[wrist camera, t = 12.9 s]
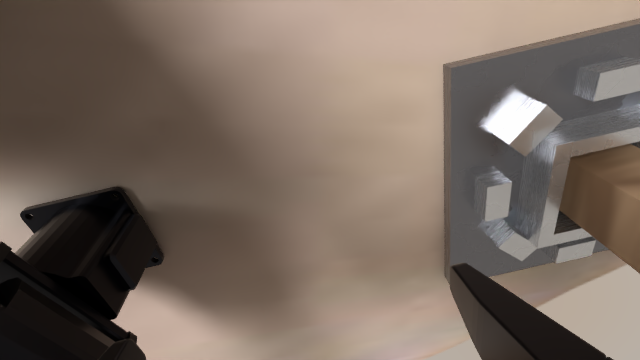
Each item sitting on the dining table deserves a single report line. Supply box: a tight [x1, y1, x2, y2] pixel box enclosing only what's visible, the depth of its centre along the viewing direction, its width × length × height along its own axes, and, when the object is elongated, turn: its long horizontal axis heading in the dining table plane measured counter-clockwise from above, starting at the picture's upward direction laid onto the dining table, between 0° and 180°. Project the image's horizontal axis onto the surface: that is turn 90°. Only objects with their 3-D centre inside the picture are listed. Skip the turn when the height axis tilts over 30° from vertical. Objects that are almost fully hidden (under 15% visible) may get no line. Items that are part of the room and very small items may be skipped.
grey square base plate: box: [443, 19, 640, 285], centre depth 22 cm, size 18×18×4 cm
